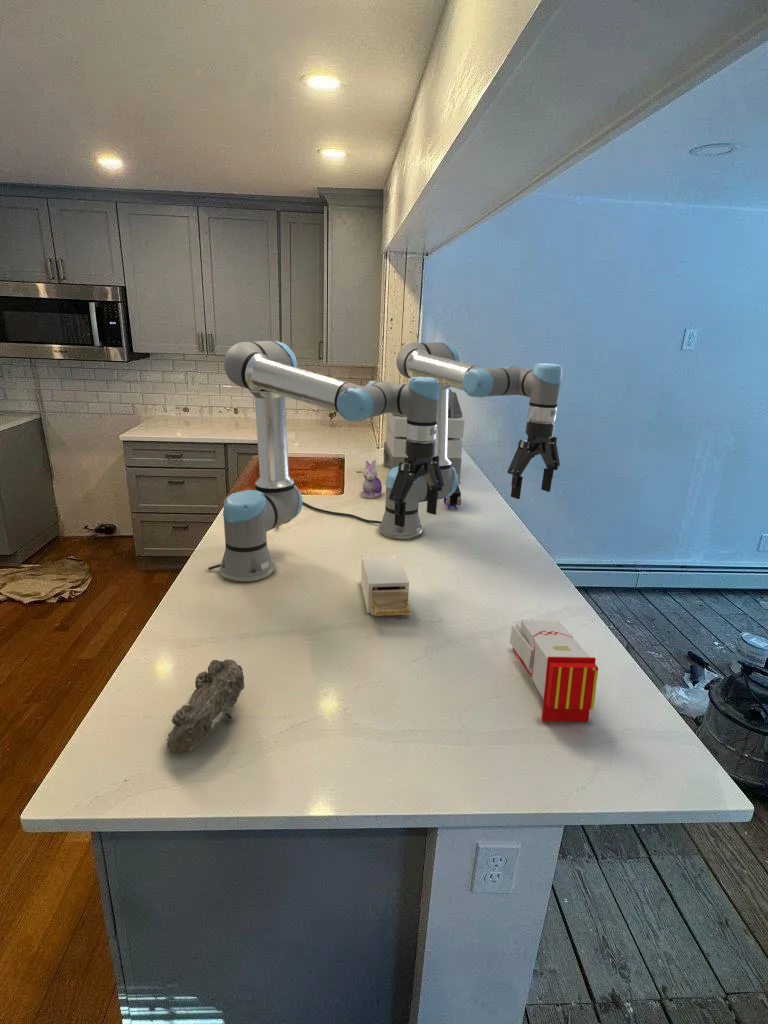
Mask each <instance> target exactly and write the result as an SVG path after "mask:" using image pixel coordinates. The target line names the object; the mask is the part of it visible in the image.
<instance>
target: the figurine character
mask: <svg viewBox="0 0 768 1024" xmlns="http://www.w3.org/2000/svg"><path fill="white" fill-rule="evenodd" d="M442 500H443V502H444V504H445V506H447V509H448V510H451V508H453V507H454V510H457V509H458V507H459V506H461V505H462V492H461V490H460V486H459V483H458V484H457V488H456V490H455V492H454V493H453V494H452V495H451V496H449V497H446V498H443V499H442ZM450 507H451V508H450Z"/></svg>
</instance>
